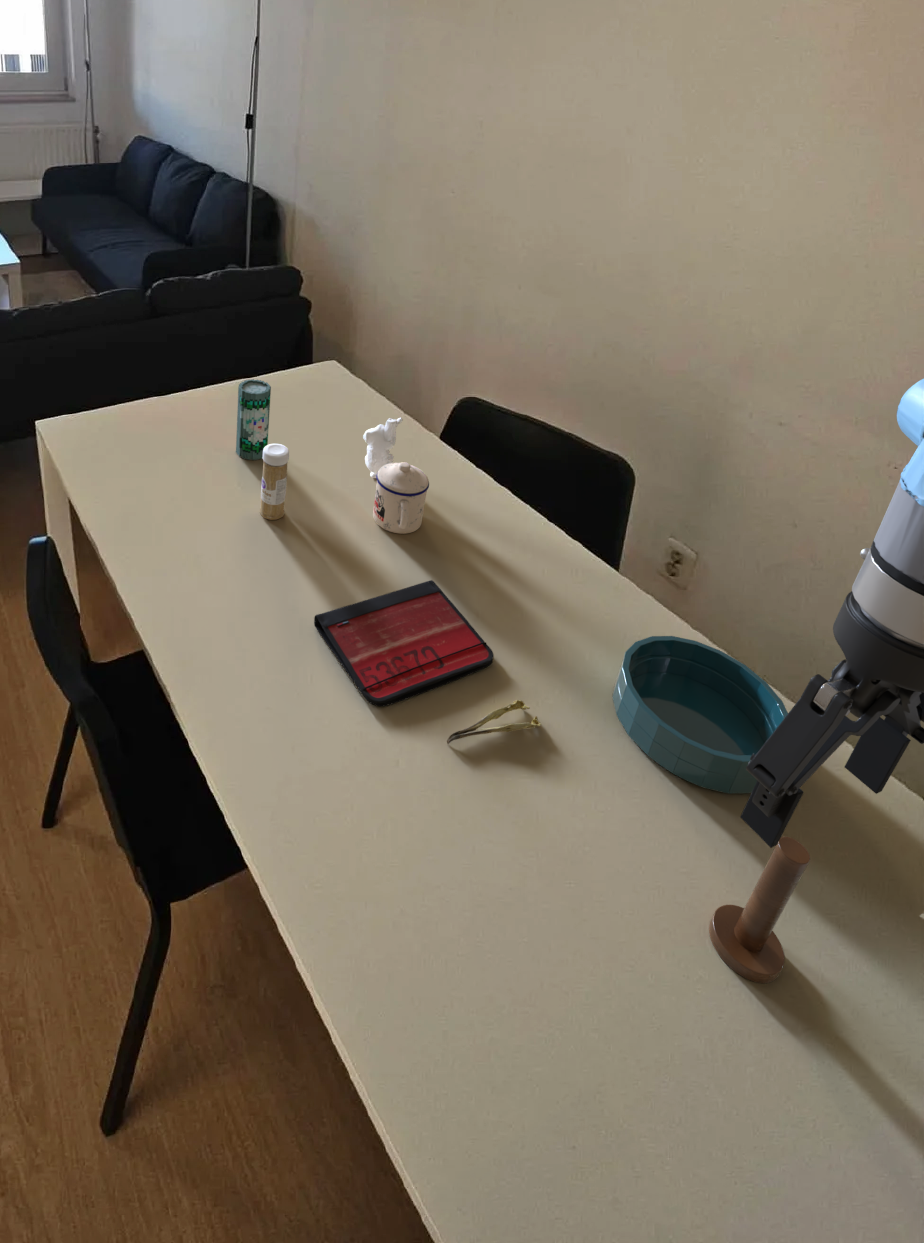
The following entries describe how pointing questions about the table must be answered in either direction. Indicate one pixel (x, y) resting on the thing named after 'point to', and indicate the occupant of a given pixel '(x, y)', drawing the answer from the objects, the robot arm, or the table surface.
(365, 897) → the table surface
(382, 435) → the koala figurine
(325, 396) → the table surface
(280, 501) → the sprinkles bottle
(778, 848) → the plunger
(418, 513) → the teacup with lid
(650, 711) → the bowl
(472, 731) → the jaw bone
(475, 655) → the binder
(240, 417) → the can
